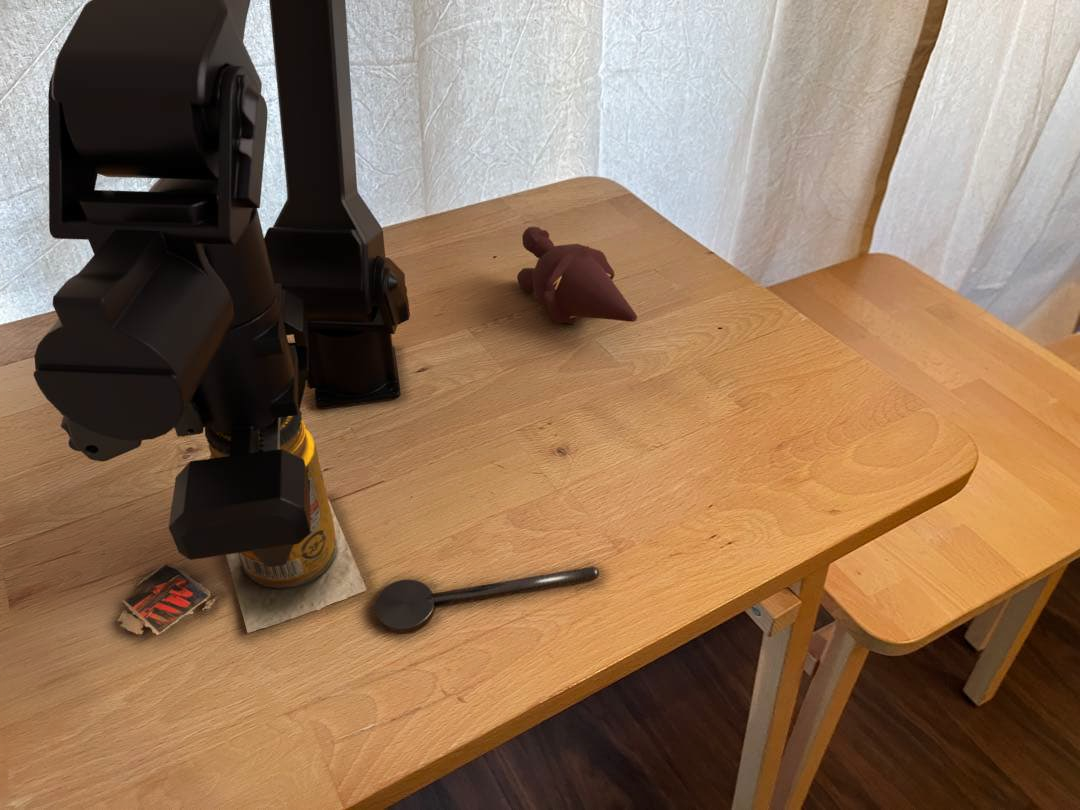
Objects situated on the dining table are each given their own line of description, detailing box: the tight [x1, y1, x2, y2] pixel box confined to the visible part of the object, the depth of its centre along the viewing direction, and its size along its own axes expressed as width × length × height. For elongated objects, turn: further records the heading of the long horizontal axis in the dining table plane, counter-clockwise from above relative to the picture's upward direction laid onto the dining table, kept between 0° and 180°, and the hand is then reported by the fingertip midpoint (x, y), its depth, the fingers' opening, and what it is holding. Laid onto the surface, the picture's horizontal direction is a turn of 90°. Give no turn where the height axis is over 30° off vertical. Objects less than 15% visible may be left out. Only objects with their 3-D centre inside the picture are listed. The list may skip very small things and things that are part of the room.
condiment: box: [204, 406, 368, 634], centre depth 52 cm, size 7×8×12 cm
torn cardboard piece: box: [117, 563, 220, 636], centre depth 53 cm, size 5×5×1 cm
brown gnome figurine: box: [516, 226, 638, 325], centre depth 75 cm, size 7×7×15 cm
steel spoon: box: [374, 566, 600, 635], centre depth 54 cm, size 14×4×1 cm, turn 102°
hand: (278, 510), depth 54 cm, fingers closed on condiment, 8 cm apart
